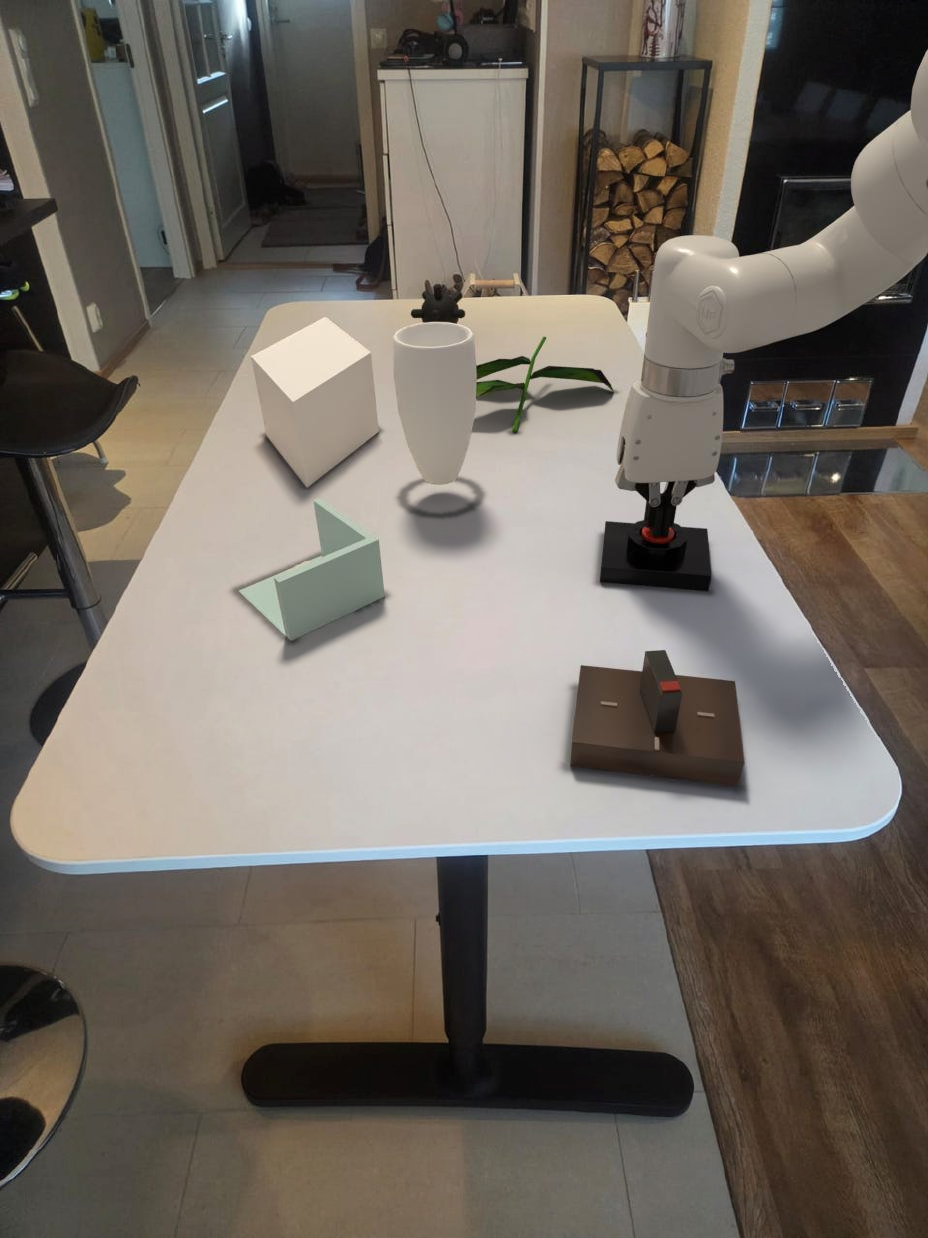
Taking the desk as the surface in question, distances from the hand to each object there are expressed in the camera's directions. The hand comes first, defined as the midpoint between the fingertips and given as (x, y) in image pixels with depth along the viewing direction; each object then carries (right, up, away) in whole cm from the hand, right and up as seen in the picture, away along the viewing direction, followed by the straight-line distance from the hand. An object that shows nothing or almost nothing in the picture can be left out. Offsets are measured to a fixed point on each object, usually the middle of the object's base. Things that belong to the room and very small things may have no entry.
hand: (657, 530), depth 91 cm
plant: (-10, +25, +40) cm, 48 cm away
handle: (-5, -18, -21) cm, 28 cm away
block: (-44, +19, +33) cm, 58 cm away
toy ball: (-27, +46, +68) cm, 86 cm away
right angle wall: (-39, -7, 0) cm, 40 cm away
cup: (-25, +6, +17) cm, 31 cm away
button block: (0, -3, +3) cm, 4 cm away
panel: (-5, -20, -19) cm, 28 cm away
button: (0, -1, +1) cm, 2 cm away
